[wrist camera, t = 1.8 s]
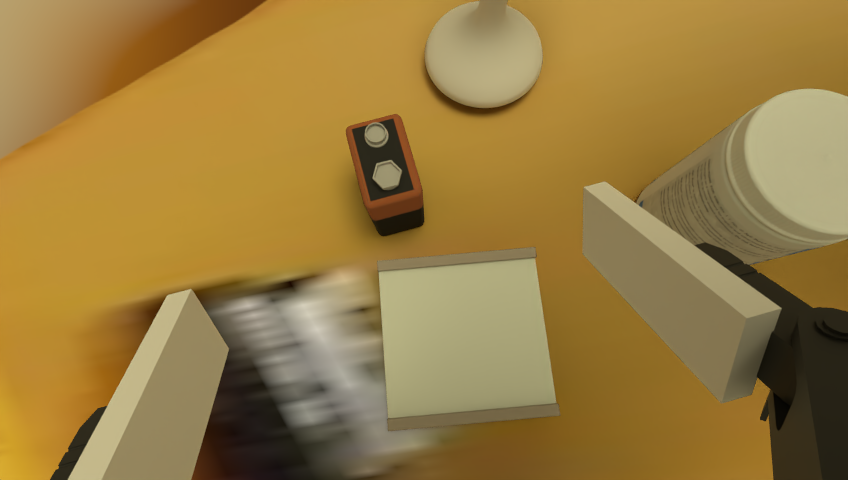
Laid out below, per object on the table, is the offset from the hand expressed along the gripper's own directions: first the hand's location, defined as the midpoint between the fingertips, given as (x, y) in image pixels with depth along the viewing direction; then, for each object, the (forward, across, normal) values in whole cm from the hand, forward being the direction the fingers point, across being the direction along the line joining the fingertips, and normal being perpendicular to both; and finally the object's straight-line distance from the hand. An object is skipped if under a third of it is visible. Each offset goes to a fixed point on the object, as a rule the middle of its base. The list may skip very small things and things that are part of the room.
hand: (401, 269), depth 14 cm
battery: (+25, +1, -9) cm, 26 cm away
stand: (+15, +3, -19) cm, 24 cm away
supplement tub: (+18, +25, -16) cm, 35 cm away
